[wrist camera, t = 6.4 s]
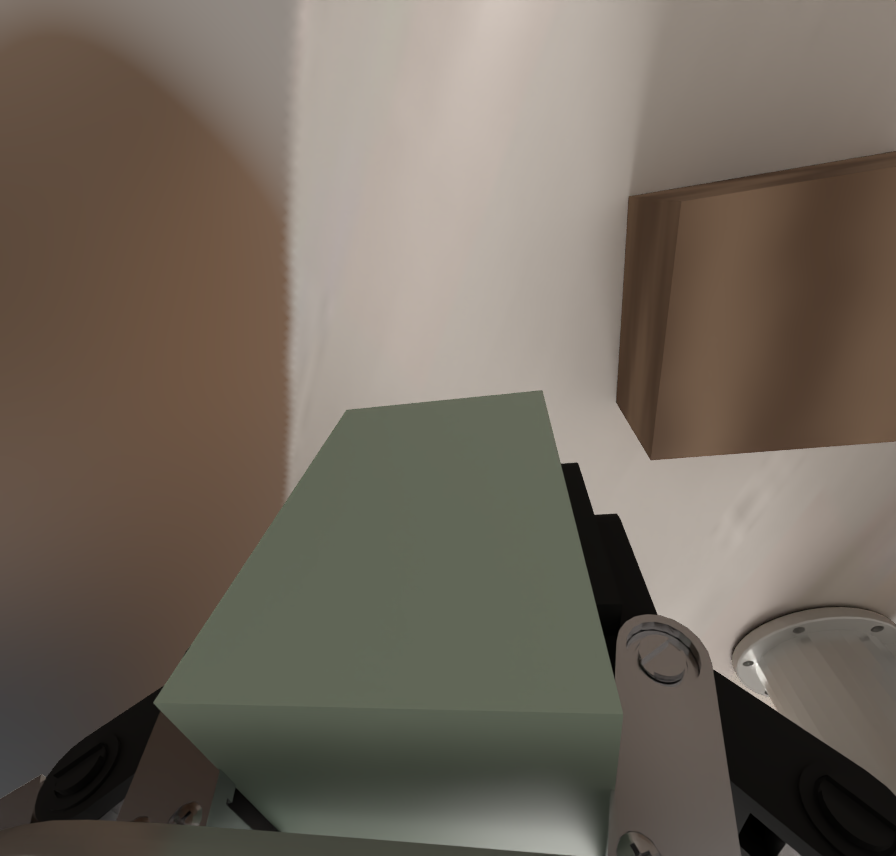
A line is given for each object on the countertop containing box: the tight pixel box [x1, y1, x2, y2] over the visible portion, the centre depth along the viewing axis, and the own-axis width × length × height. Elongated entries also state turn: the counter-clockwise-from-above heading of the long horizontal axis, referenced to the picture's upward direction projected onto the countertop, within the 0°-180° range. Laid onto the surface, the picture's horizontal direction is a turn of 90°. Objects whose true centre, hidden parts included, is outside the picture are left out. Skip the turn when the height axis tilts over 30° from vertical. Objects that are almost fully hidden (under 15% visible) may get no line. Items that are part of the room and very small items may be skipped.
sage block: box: [153, 390, 623, 856], centre depth 9 cm, size 5×6×7 cm
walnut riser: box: [616, 151, 896, 460], centre depth 18 cm, size 11×11×6 cm
